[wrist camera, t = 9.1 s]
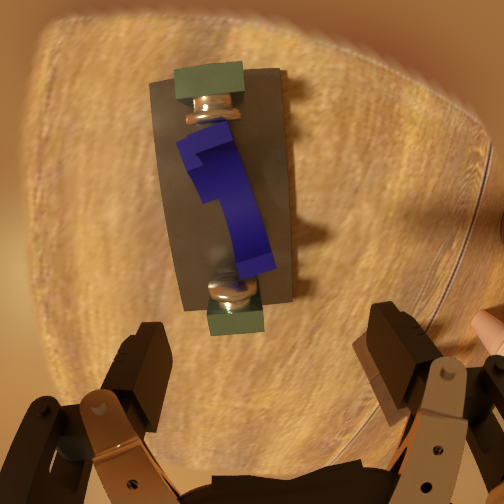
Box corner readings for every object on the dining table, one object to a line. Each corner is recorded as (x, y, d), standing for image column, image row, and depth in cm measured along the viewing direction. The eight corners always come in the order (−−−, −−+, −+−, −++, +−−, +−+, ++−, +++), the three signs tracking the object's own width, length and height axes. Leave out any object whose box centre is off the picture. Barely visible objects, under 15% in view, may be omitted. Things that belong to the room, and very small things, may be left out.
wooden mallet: (370, 325, 35) (432, 434, 18) (406, 356, 38) (459, 445, 21) (350, 344, 36) (400, 456, 19) (388, 371, 39) (434, 463, 22)
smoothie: (460, 337, 38) (504, 391, 25) (473, 305, 35) (524, 357, 22) (483, 331, 38) (525, 378, 25) (495, 300, 36) (544, 346, 23)
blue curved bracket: (182, 141, 25) (167, 143, 19) (228, 124, 24) (226, 120, 19) (226, 256, 29) (223, 285, 24) (269, 242, 29) (276, 268, 23)
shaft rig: (278, 69, 23) (290, 51, 17) (291, 298, 32) (302, 333, 26) (151, 84, 23) (128, 72, 17) (185, 307, 32) (175, 343, 26)
